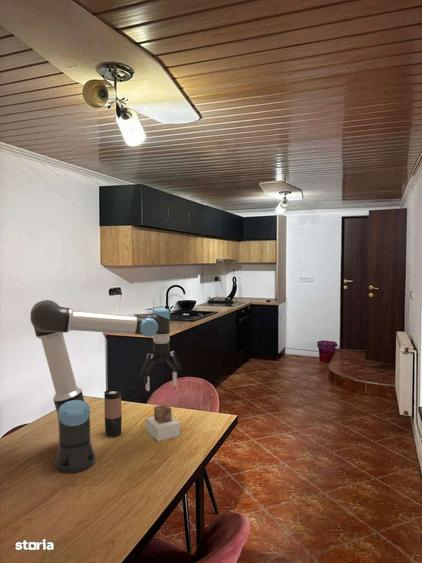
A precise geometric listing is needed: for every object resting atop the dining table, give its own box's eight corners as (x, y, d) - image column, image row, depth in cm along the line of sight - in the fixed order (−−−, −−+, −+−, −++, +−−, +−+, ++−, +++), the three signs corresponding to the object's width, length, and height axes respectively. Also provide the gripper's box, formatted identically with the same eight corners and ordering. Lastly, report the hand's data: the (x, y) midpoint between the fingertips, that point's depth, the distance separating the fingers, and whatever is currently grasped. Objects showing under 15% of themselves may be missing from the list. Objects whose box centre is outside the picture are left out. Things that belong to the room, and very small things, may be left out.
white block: (157, 441, 177) (157, 428, 177) (145, 430, 189) (145, 417, 189) (180, 435, 183) (179, 422, 183) (167, 425, 195) (167, 413, 195)
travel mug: (124, 431, 189) (123, 389, 188) (118, 438, 181) (118, 394, 180) (108, 430, 189) (107, 388, 189) (102, 437, 182) (101, 393, 181)
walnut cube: (159, 423, 182) (159, 410, 181) (154, 419, 187) (154, 406, 186) (171, 421, 185) (171, 408, 184) (166, 416, 190) (165, 404, 190)
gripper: (138, 346, 175) (138, 394, 175) (189, 341, 187) (189, 386, 188) (132, 343, 181) (132, 389, 182) (182, 338, 194) (181, 382, 195)
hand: (161, 388), depth 185 cm, fingers open, 13 cm apart
